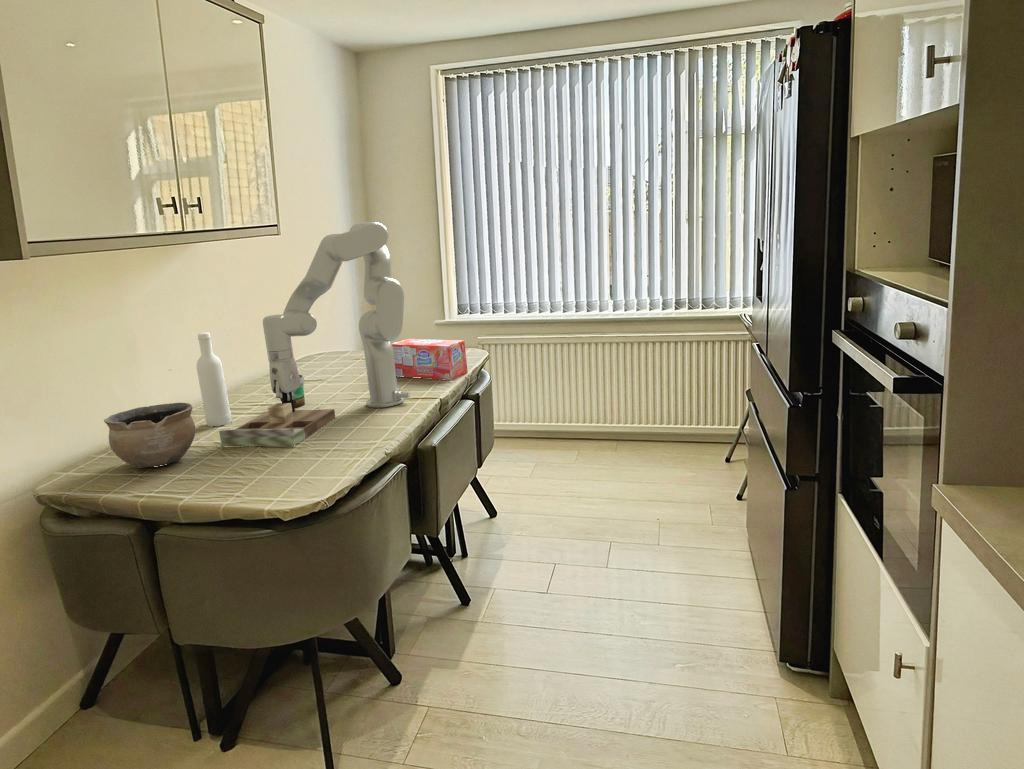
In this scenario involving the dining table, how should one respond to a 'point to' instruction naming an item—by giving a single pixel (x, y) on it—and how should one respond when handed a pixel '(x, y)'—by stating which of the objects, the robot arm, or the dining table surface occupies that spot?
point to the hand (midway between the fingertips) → (289, 412)
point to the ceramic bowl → (152, 434)
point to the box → (430, 358)
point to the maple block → (280, 413)
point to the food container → (299, 393)
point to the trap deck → (277, 429)
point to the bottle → (212, 384)
